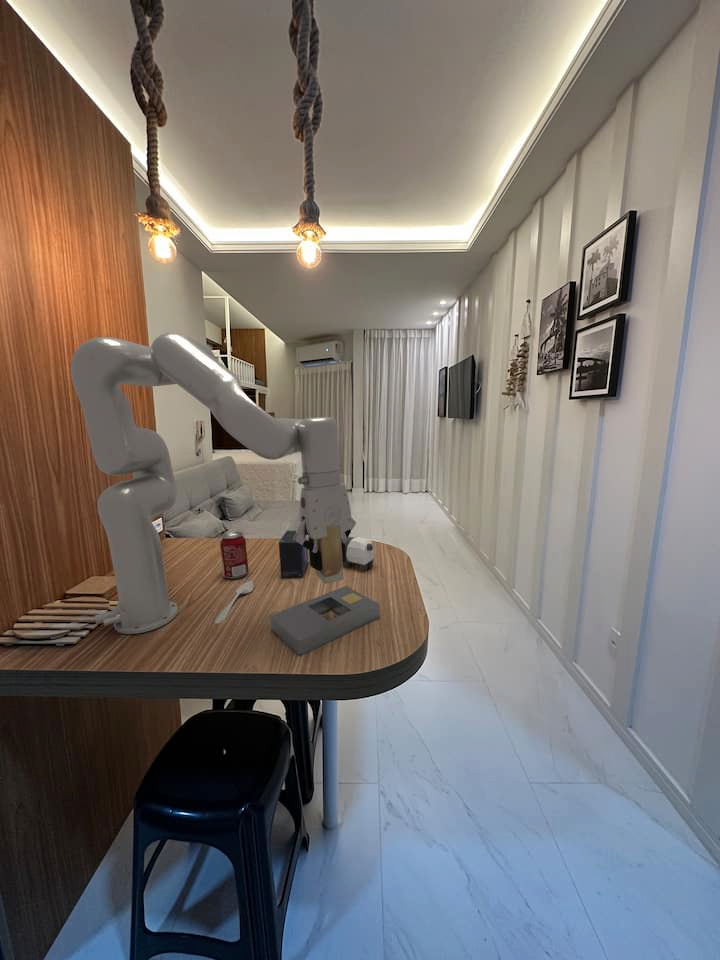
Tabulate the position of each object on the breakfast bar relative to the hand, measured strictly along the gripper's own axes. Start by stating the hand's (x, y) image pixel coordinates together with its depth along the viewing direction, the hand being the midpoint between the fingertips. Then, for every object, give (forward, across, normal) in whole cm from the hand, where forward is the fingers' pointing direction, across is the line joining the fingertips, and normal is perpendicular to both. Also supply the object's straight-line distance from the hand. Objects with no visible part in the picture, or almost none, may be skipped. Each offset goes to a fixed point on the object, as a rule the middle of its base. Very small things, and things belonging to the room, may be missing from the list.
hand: (328, 563), depth 79 cm
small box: (+13, +8, +29) cm, 33 cm away
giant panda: (+13, +22, +20) cm, 33 cm away
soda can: (+13, -6, +38) cm, 41 cm away
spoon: (+13, -13, +22) cm, 29 cm away
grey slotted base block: (+13, -1, 0) cm, 13 cm away
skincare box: (+3, 0, 0) cm, 3 cm away
